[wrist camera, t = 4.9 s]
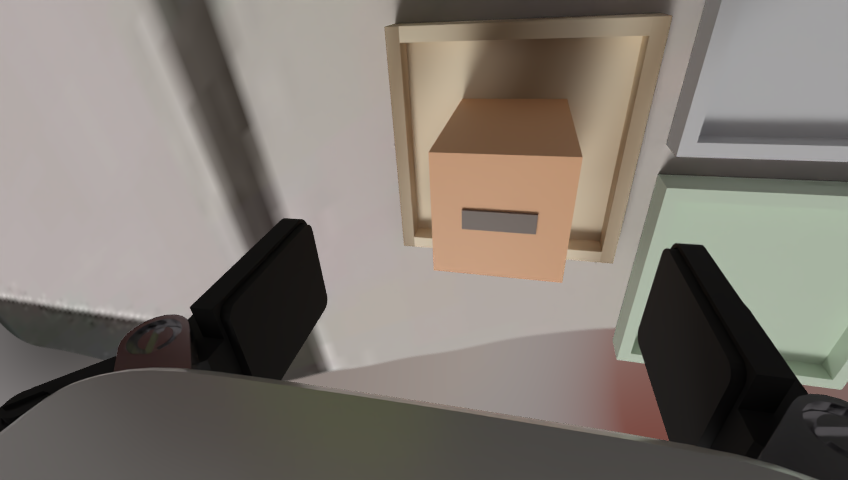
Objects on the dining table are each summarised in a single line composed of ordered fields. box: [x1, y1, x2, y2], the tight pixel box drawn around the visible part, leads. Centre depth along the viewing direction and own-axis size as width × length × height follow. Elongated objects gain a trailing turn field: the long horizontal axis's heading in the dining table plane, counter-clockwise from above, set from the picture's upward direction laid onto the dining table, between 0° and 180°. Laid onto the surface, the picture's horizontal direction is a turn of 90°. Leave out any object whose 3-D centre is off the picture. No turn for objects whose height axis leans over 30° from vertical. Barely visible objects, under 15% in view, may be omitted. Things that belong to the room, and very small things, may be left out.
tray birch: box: [384, 13, 672, 263], centre depth 19 cm, size 11×11×2 cm
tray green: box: [613, 174, 848, 390], centre depth 19 cm, size 11×11×2 cm
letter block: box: [428, 99, 583, 283], centre depth 16 cm, size 4×5×7 cm
